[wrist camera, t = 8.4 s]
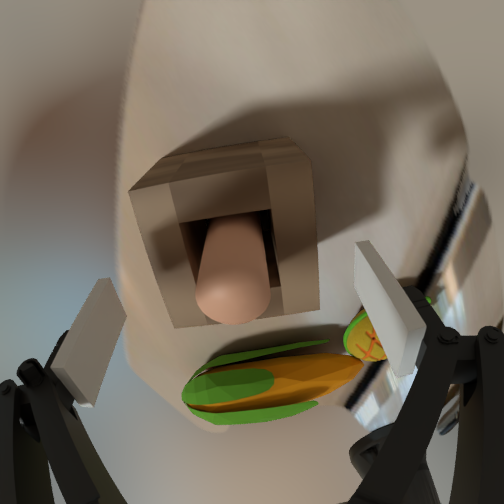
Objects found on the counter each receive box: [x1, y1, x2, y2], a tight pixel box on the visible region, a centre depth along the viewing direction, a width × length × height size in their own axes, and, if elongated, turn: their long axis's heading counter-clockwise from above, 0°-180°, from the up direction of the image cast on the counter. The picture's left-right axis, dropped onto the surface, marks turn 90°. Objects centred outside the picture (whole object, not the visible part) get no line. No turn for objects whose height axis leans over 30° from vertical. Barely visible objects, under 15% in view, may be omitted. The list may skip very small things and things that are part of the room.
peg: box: [195, 211, 271, 325], centre depth 21 cm, size 4×4×12 cm
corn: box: [182, 339, 364, 425], centre depth 32 cm, size 7×8×20 cm
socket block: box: [128, 137, 320, 328], centre depth 22 cm, size 10×10×8 cm
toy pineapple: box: [343, 296, 431, 361], centre depth 30 cm, size 7×10×5 cm
